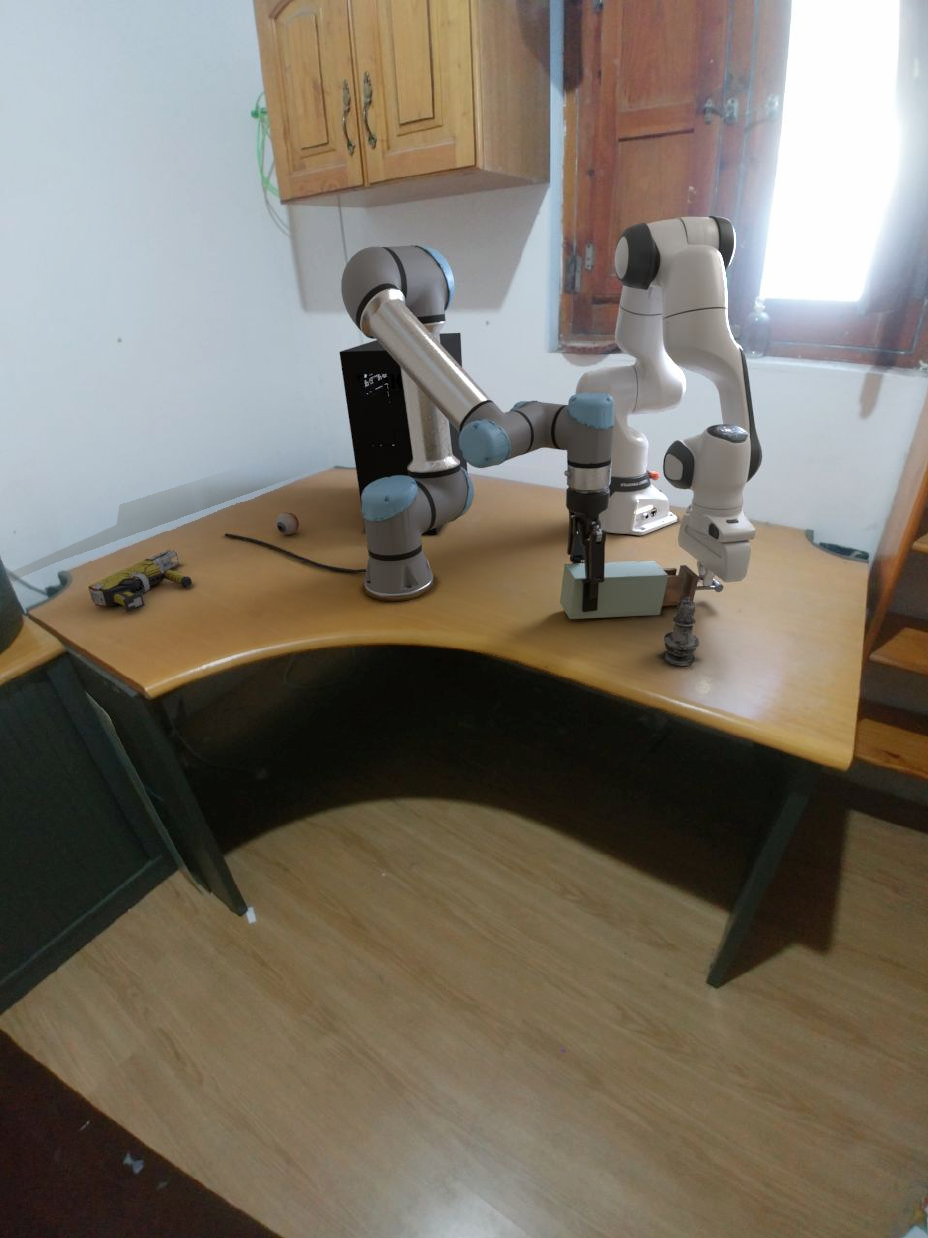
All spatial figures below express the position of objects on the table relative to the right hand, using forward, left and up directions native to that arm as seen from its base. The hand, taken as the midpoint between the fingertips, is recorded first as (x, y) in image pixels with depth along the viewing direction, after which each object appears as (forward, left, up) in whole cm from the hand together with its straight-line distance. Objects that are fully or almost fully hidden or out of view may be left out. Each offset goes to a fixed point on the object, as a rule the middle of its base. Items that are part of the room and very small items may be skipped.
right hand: (704, 584), depth 119 cm
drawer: (+8, -3, -3) cm, 9 cm away
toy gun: (+101, -66, -4) cm, 120 cm away
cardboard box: (+29, -83, -4) cm, 88 cm away
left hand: (+23, -8, -1) cm, 25 cm away
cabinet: (+18, -6, -4) cm, 19 cm away
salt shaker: (+18, +13, -4) cm, 22 cm away
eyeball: (+67, -84, -4) cm, 107 cm away
